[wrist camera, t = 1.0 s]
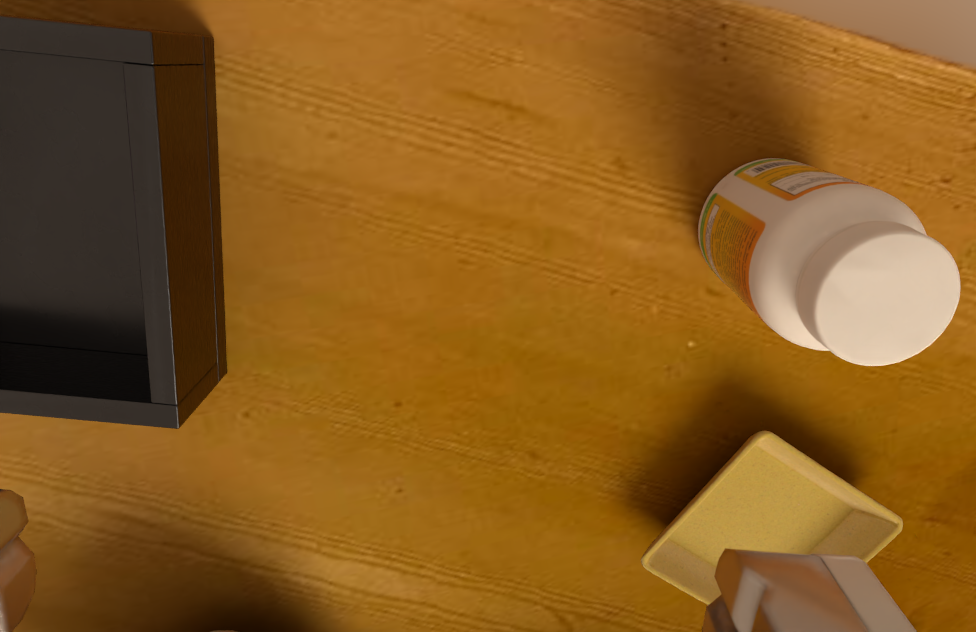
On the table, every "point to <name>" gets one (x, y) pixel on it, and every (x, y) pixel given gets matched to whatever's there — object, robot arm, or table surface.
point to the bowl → (224, 631)
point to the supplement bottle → (829, 261)
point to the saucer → (767, 516)
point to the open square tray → (108, 223)
